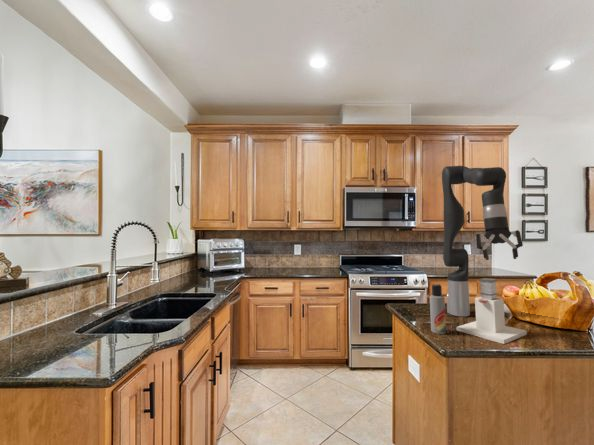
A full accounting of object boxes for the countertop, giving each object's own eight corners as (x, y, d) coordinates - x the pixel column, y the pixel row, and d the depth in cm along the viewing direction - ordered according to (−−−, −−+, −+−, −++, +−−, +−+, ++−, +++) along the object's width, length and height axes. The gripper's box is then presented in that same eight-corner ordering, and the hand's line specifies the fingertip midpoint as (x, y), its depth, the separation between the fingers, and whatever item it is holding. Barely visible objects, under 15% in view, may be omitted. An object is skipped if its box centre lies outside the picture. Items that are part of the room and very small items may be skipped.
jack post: (481, 327, 119) (479, 279, 120) (487, 325, 122) (485, 277, 122) (493, 330, 115) (491, 280, 116) (499, 328, 118) (496, 279, 118)
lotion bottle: (448, 334, 117) (445, 285, 118) (433, 334, 118) (431, 285, 119) (443, 330, 123) (441, 283, 123) (429, 329, 124) (427, 283, 125)
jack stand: (456, 330, 122) (455, 297, 122) (479, 322, 131) (478, 292, 131) (504, 344, 106) (502, 306, 107) (526, 334, 115) (524, 299, 116)
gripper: (518, 216, 109) (525, 258, 106) (475, 220, 118) (480, 260, 115) (517, 213, 103) (524, 258, 100) (472, 218, 112) (477, 260, 110)
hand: (500, 259), depth 108 cm, fingers open, 8 cm apart
